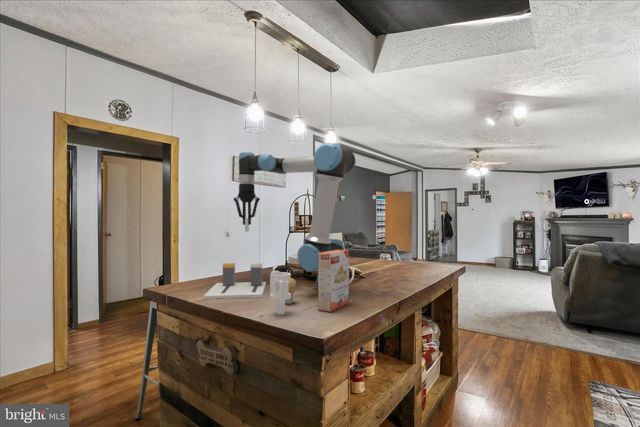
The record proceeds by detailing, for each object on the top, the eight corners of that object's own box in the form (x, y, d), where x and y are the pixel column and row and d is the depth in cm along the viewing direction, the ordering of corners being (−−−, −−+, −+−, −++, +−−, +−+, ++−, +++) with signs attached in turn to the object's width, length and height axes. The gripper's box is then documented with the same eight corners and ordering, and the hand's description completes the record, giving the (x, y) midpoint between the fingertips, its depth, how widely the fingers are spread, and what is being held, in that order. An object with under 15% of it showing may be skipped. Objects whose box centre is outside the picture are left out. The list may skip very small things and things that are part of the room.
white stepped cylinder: (266, 312, 117) (266, 270, 117) (284, 309, 121) (283, 268, 121) (277, 317, 112) (276, 273, 112) (294, 313, 116) (294, 270, 116)
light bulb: (278, 305, 127) (278, 279, 127) (282, 300, 133) (282, 275, 134) (294, 305, 126) (294, 279, 126) (298, 301, 133) (298, 276, 133)
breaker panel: (262, 297, 139) (262, 294, 139) (203, 299, 137) (203, 295, 137) (266, 284, 165) (266, 281, 165) (216, 285, 163) (216, 282, 163)
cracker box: (331, 313, 117) (331, 253, 117) (317, 310, 120) (317, 252, 120) (350, 303, 128) (349, 249, 128) (336, 301, 132) (336, 249, 132)
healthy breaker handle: (261, 285, 156) (261, 264, 156) (250, 285, 155) (250, 264, 155) (262, 283, 160) (262, 262, 160) (251, 283, 159) (251, 263, 159)
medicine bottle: (289, 291, 149) (289, 265, 149) (286, 295, 142) (286, 267, 142) (273, 291, 150) (273, 264, 150) (269, 295, 143) (269, 267, 143)
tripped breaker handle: (233, 285, 156) (233, 264, 156) (222, 285, 155) (222, 264, 155) (235, 283, 160) (234, 262, 160) (224, 284, 159) (224, 263, 159)
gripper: (260, 184, 169) (260, 231, 169) (234, 184, 168) (234, 231, 168) (259, 183, 162) (259, 231, 161) (232, 183, 160) (232, 232, 160)
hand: (246, 231), depth 165 cm, fingers closed
